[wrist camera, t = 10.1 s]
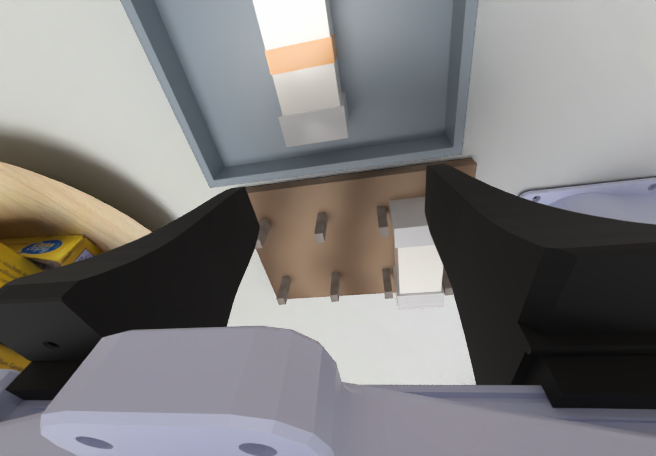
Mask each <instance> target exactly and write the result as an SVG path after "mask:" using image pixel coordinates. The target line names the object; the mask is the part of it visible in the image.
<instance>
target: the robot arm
mask: <svg viewBox="0 0 656 456" xmlns="http://www.w3.org/2000/svg"><path fill="white" fill-rule="evenodd" d="M650 185H651V186H650ZM535 196H537V198H535V199H533V198H534V197H535ZM425 215H426V220H427V224H428V228H429V232H430V234H431V237H432V239H433V242H434V244H435V247H436V249H437V252H438V254H439V256H440V259H441V261H442V264H443V266H444V268H445V271H446V273H447V276H448V278H449V281H450V284H451V287H452V290H453V293H454V297H455V301H456V304H457V308H458V311H459V315H460V319H461V323H462V327H463V330H464V334H465V338H466V342H467V347H468V351H469V355H470V359H471V363H472V367H473V372H474V376H475V381H476V385H357V384H351V383H345V382H342V381H341V378H340V375H339V371H338V368H337V364H336V362H335V361H334V360H333V359H332V357H331V356H330V355H329V354H328V352H327V351H326V350H325V349H324V347H323V346H322V345H321V344H320V343H319V342H317V341H315V340H313V339H311V338H309V337H307V336H305V335H302V334H300V333H298V332H296V331H294V330H290V329H283V328H275V327H267V326H239V327H227V323H228V319H229V316H230V312H231V309H232V305H233V302H234V298H235V295H236V293H237V290H238V287H239V285H240V283H241V280H242V278H243V276H244V273H245V271H246V268H247V266H248V264H249V261H250V259H251V256H252V254H253V252H254V249H255V246H256V243H257V239H258V234H259V230H260V225H259V222H258V220H257V217H256V214H255V212H254V209H253V206H252V204H251V201H250V199H249V196H248V193H247V191H246V188H245V187H238V188H231V189H228V190H226V191H224V192H222V193H220V194H218V195H217V196H215V197H213V198H211V199H210V200H208V201H207V202H205V203H203V204H202V205H200V206H198V207H197V208H195V209H194V210H192V211H190V212H188V213H187V214H185V215H183V216H182V217H180V218H178V219H176V220H175V221H173V222H171V223H169V224H168V225H166V226H164V227H162V228H160V229H158V230H156V231H154V232H152V233H150V234H148V235H145V236H143V237H141V238H139V239H137V240H134V241H132V242H129V243H127V244H124V245H122V246H119V247H117V248H114V249H112V250H110V251H107V252H104V253H101V254H98V255H96V256H93V257H90V258H87V259H84V260H80V261H77V262H74V263H71V264H68V265H64V266H61V267H57V268H54V269H50V270H46V271H42V272H39V273H35V274H31V275H28V276H24V277H20V278H17V279H14V280H12V281H10V282H8V283H6V284H5V285H3V286H2V287H1V288H0V342H2V343H3V344H5V345H6V346H8V347H9V348H11V349H12V350H14V351H15V352H17V353H18V354H20V355H21V356H23V357H24V358H26V359H27V360H29V361H31V362H30V364H29V365H28V366H27V367H26V368H25V369H24V370H23V371H22V372H19V371H16V370H12V369H0V456H656V177H655V178H646V179H637V180H628V181H618V182H609V183H600V184H591V185H582V186H573V187H563V188H554V189H545V190H536V191H527V192H524V193H522V194H521V195H520V197H518V196H515V195H513V194H510V193H507V192H505V191H502V190H500V189H497V188H495V187H493V186H490V185H488V184H486V183H484V182H482V181H480V180H477V179H475V178H473V177H471V176H469V175H467V174H465V173H464V172H462V171H460V170H458V169H456V168H454V167H452V166H450V165H447V164H444V163H442V164H433V165H426V189H425Z"/></svg>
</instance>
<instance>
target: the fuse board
mask: <svg viewBox="0 0 656 456" xmlns="http://www.w3.org/2000/svg"><path fill="white" fill-rule="evenodd" d="M442 163H444V164H447V165H450V166H452V167H454V168H456V169H458V170H460V171H462V172H464V173H465V174H467V175H469V176H471V177H473V178H475V173H476V166H477V164H476V163H475V161H474V160H473V159H472V158H467V159H459V160H452V161H444V162H436V163H429V164H421V165H413V166H406V167H398V168H390V169H383V170H375V171H367V172H360V173H352V174H344V175H337V176H329V177H321V178H314V179H306V180H298V181H291V182H283V183H275V184H268V185H260V186H252V187H245V188H246V191H247V193H248V196H249V199H250V201H251V204H252V206H253V209H254V212H255V214H256V217H257V220H258V222H259V225H260V230H259V234H258V239H257V243H256V246H255V249H256V250H257V252H258V255H259V257H260V259H261V262H262V264H263V266H264V269H265V271H266V273H267V276H268V278H269V280H270V283H271V285H272V287H273V289H274V292H275V294H276V296H277V298H276V299H277V301H278V303H279V305H282V304H286V301H287V299H293V298H310V297H327V296H330V297H331V301H332V302H335V301H339V296H343V295H360V294H376V293H385V299H388V298H393V294H392V293H393V292H395V286H394V280H393V267H392V264H395V256H394V240H393V234H392V229H391V223H390V216H389V200H398V199H407V198H416V197H425V189H426V165H433V164H442ZM442 287H443V290H444V293H445V295H453V290H452V287H451V284H450V281H449V278H448V276H447V273H446V271H445V268H444V266H443V275H442Z"/></svg>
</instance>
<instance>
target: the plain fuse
mask: <svg viewBox="0 0 656 456" xmlns="http://www.w3.org/2000/svg"><path fill="white" fill-rule="evenodd" d="M389 216H390V223H391V229H392V234H393V240H394V256H395V264H392V267H393V280H394V286H395V293H396V299H397V306H398V309H415V308H435V307H443V304H444V294H445V293H444V290H443V287H442V275H443V264H442V261H441V259H440V256H439V254H438V252H437V249H436V247H435V244H434V242H433V239H432V237H431V234H430V232H429V228H428V224H427V220H426V215H425V197H416V198H407V199H398V200H389Z"/></svg>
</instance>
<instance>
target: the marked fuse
mask: <svg viewBox="0 0 656 456" xmlns="http://www.w3.org/2000/svg"><path fill="white" fill-rule="evenodd" d="M253 4H254V8H255V12H256V16H257V19H258V23H259V27H260V31H261V35H262V38H263V42H264V46H265V50H266V51H265V55H266V59H267V63H268V66H269V70H270V74H271V75H272V77H273V80H274V84H275V88H276V92H277V96H278V99H279V103H280V107H281V111H282V113H281V114H280V116H279V117H278V118H279V122H280V126H281V129H282V133H283V137H284V140H285V144H286V147H292V146H299V145H305V144H312V143H318V142H325V141H332V140H338V139H345V138H348V131H349V116H348V108H347V100H346V92H342V90H341V83H340V75H339V68H338V61H337V56H338V53H337V46H336V39H335V34H334V31H333V24H332V17H331V10H330V2H329V0H253Z"/></svg>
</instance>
